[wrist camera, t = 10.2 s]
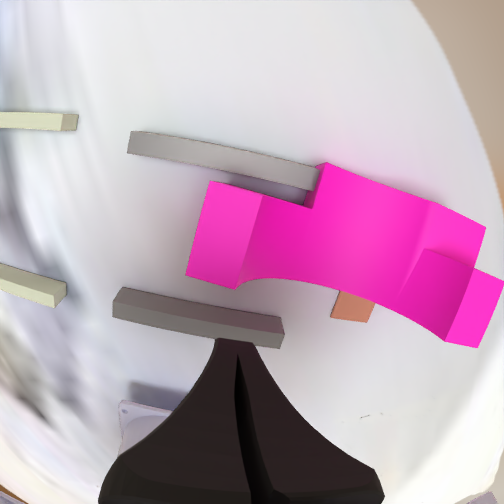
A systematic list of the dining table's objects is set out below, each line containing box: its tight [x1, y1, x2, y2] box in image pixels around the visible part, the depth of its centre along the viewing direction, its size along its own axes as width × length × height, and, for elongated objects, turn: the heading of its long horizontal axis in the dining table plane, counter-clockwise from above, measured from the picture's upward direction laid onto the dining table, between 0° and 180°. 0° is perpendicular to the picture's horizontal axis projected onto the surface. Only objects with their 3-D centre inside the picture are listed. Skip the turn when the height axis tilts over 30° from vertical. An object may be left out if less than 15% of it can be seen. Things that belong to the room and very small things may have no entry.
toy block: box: [186, 162, 504, 348], centre depth 16 cm, size 15×6×8 cm, turn 74°
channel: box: [113, 131, 375, 349], centre depth 19 cm, size 11×18×2 cm, turn 77°
